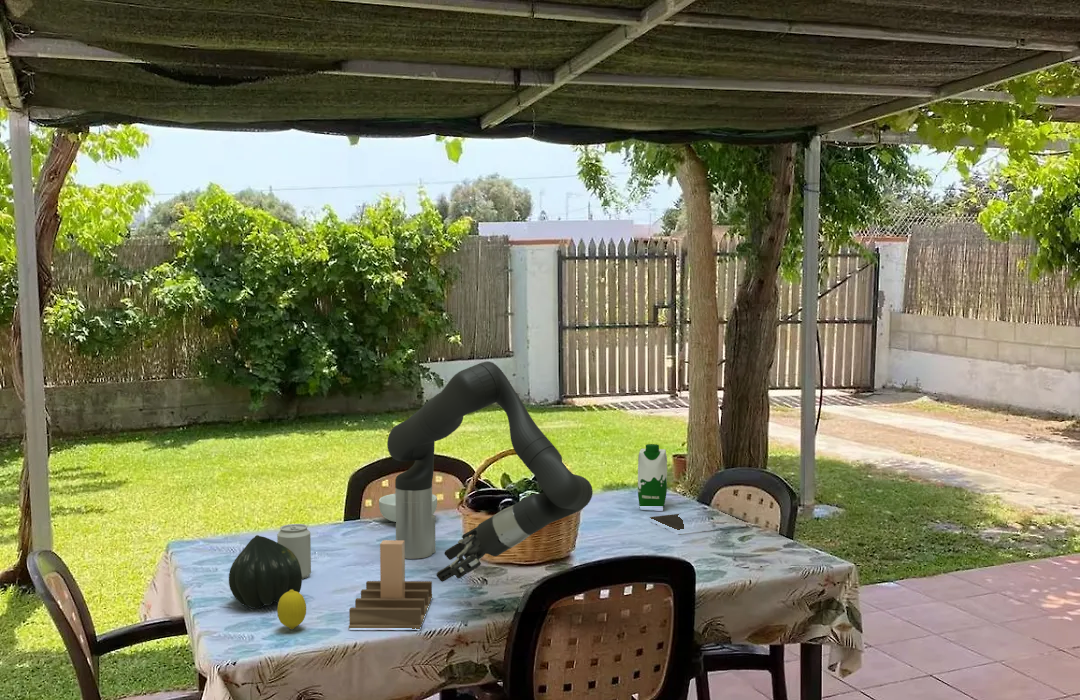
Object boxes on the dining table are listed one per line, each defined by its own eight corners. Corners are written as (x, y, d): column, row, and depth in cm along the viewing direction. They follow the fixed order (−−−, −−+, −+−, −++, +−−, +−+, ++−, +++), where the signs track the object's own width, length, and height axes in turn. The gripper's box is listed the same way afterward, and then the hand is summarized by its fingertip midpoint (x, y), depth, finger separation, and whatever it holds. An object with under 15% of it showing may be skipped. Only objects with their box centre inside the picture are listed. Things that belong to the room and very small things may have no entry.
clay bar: (383, 606, 201) (383, 540, 200) (405, 606, 200) (404, 540, 200) (380, 611, 198) (380, 544, 197) (402, 611, 197) (401, 544, 197)
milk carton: (636, 511, 291) (637, 445, 290) (639, 504, 300) (639, 441, 299) (665, 512, 289) (666, 446, 288) (667, 506, 298) (668, 442, 297)
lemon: (280, 625, 192) (279, 585, 192) (308, 624, 193) (308, 585, 192) (275, 634, 187) (274, 594, 186) (304, 634, 187) (303, 593, 187)
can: (281, 583, 219) (281, 531, 219) (274, 574, 226) (274, 524, 225) (314, 578, 223) (313, 527, 222) (306, 570, 230) (305, 521, 229)
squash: (303, 588, 198) (298, 523, 207) (227, 597, 194) (225, 531, 203) (303, 616, 209) (299, 553, 218) (231, 625, 205) (229, 561, 214)
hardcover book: (748, 529, 272) (748, 521, 272) (677, 537, 263) (677, 529, 263) (716, 516, 286) (716, 509, 286) (649, 524, 278) (649, 516, 277)
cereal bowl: (380, 516, 285) (380, 492, 285) (437, 514, 287) (436, 491, 287) (377, 530, 268) (377, 505, 268) (437, 528, 270) (437, 503, 270)
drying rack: (368, 598, 209) (367, 580, 209) (432, 598, 209) (432, 580, 209) (348, 630, 189) (348, 610, 189) (419, 631, 189) (419, 611, 189)
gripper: (498, 500, 203) (438, 536, 208) (488, 533, 190) (424, 571, 194) (519, 526, 205) (459, 562, 209) (511, 562, 192) (447, 599, 196)
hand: (442, 566), depth 202 cm, fingers open, 8 cm apart
